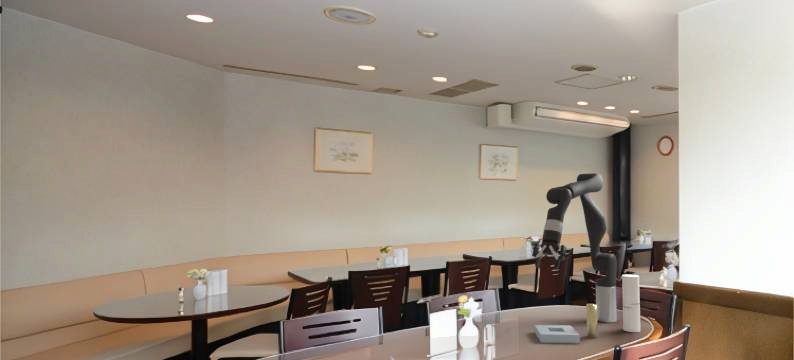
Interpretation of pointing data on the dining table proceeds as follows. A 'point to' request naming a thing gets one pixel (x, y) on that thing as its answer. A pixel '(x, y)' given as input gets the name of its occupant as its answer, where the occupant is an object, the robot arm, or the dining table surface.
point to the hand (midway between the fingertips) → (546, 268)
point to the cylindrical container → (631, 303)
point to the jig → (556, 334)
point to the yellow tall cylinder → (592, 321)
